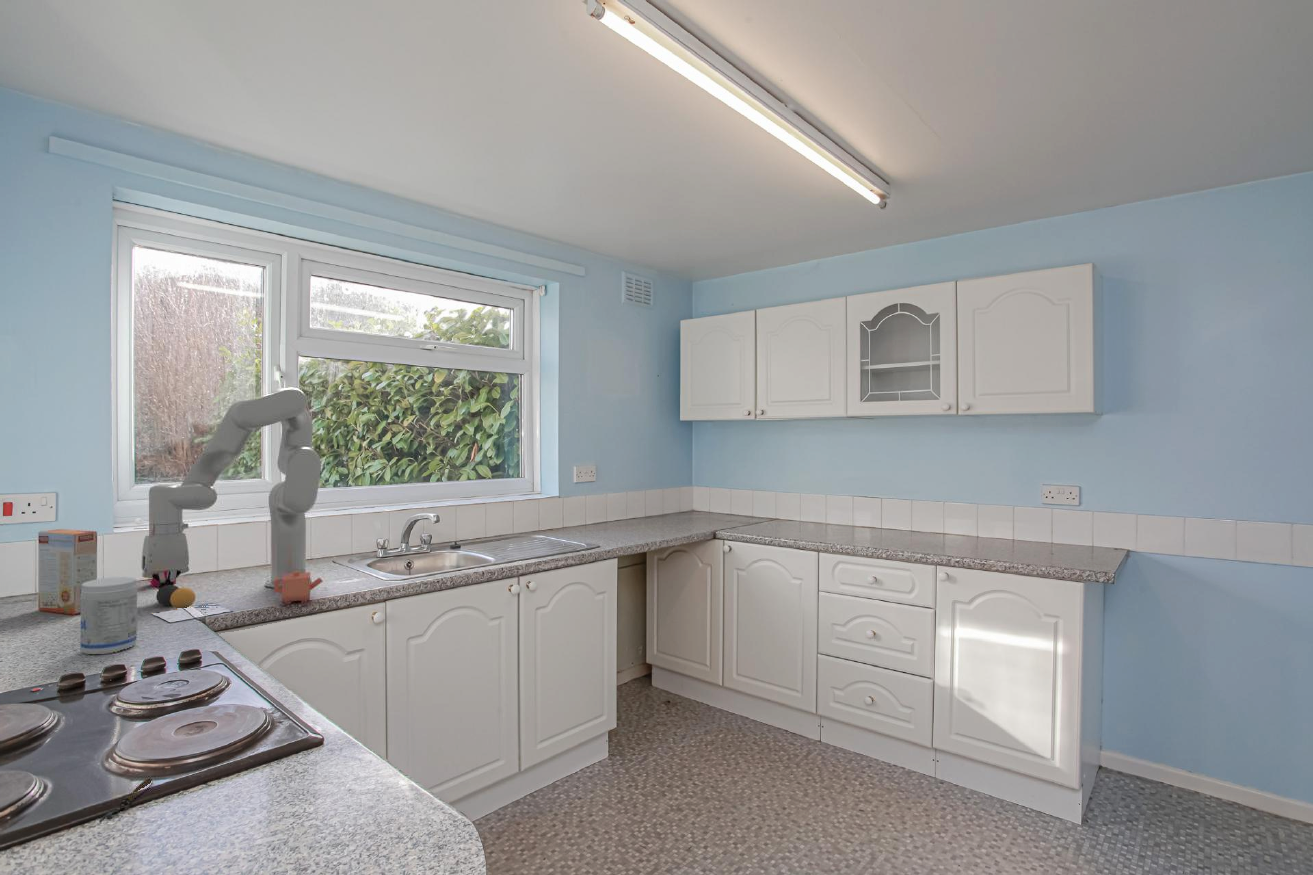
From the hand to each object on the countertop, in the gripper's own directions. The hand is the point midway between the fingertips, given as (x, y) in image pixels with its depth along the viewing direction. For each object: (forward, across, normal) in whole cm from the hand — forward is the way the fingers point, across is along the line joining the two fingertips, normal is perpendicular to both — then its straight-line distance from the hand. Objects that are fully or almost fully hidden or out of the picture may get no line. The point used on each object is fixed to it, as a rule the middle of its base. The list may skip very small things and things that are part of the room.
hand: (166, 596), depth 189 cm
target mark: (+2, 0, +19) cm, 19 cm away
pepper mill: (+2, -7, -25) cm, 26 cm away
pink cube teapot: (+2, -23, +28) cm, 36 cm away
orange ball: (-1, 0, +12) cm, 12 cm away
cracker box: (+2, +19, -9) cm, 21 cm away
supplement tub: (+2, +22, +39) cm, 44 cm away
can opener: (+2, +39, +116) cm, 122 cm away
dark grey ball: (-1, +1, +6) cm, 6 cm away
